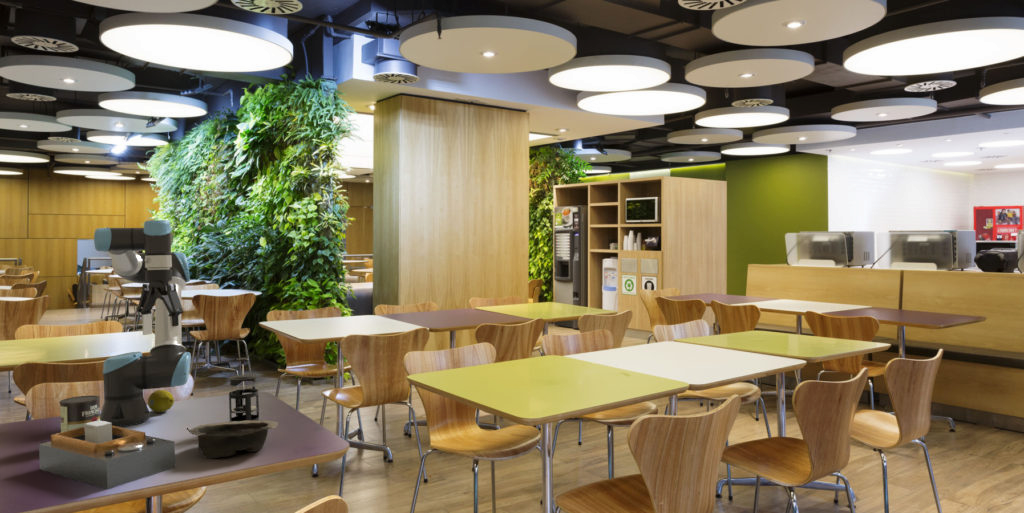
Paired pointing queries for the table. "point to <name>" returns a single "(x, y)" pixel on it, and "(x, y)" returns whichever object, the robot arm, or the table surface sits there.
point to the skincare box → (98, 431)
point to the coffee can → (79, 411)
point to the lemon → (160, 401)
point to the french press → (239, 397)
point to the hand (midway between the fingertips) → (160, 335)
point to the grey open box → (106, 456)
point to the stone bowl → (231, 437)
